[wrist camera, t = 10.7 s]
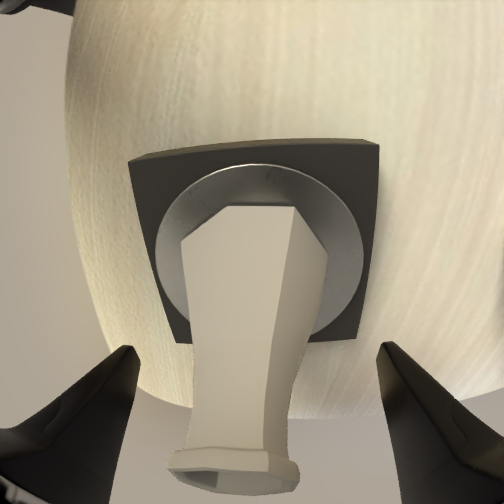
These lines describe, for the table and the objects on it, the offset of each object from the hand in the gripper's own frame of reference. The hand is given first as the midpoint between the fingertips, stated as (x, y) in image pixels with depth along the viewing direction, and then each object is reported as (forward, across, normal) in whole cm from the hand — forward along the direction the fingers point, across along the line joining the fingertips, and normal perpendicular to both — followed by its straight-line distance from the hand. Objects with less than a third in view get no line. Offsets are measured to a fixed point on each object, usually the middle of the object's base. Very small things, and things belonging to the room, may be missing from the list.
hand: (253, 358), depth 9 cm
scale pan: (+6, 0, 0) cm, 6 cm away
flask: (+6, 0, 0) cm, 6 cm away
